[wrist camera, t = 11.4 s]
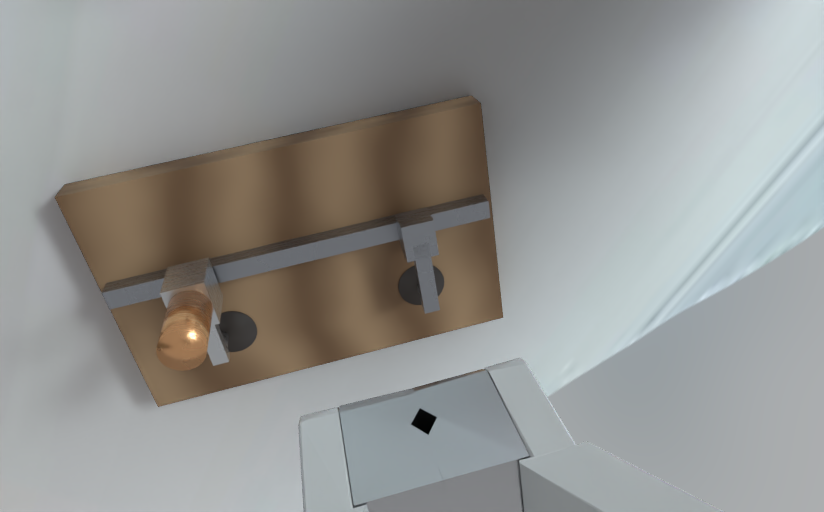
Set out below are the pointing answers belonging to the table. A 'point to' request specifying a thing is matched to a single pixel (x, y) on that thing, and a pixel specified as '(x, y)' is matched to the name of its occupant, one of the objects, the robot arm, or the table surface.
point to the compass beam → (330, 250)
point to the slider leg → (191, 317)
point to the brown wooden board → (291, 218)
